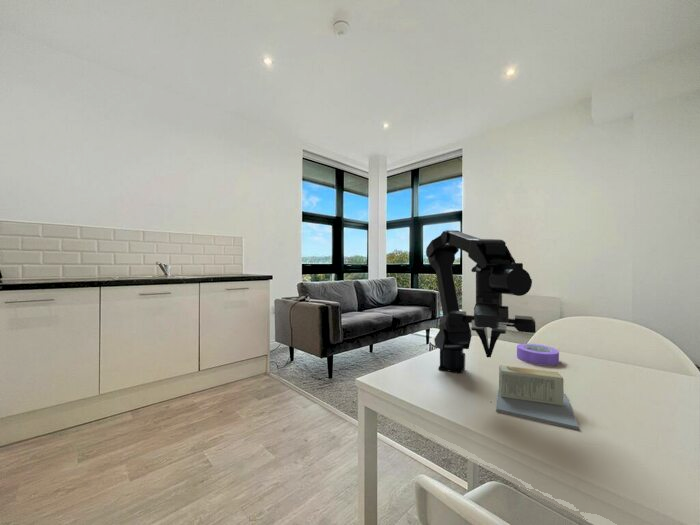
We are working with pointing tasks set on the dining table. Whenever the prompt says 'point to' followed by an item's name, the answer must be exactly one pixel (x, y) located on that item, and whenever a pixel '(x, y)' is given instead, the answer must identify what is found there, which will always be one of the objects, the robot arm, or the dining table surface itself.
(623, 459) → the dining table surface
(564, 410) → the mat
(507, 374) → the skincare box
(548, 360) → the masking tape
